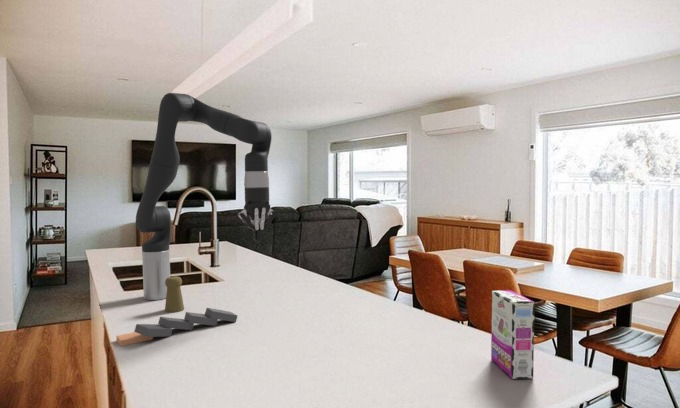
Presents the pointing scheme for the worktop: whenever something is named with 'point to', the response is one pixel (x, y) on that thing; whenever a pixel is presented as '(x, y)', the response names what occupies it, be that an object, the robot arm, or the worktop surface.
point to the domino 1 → (152, 330)
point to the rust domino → (131, 338)
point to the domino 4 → (221, 314)
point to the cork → (173, 295)
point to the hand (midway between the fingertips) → (258, 241)
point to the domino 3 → (200, 319)
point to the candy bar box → (513, 334)
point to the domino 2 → (175, 323)
